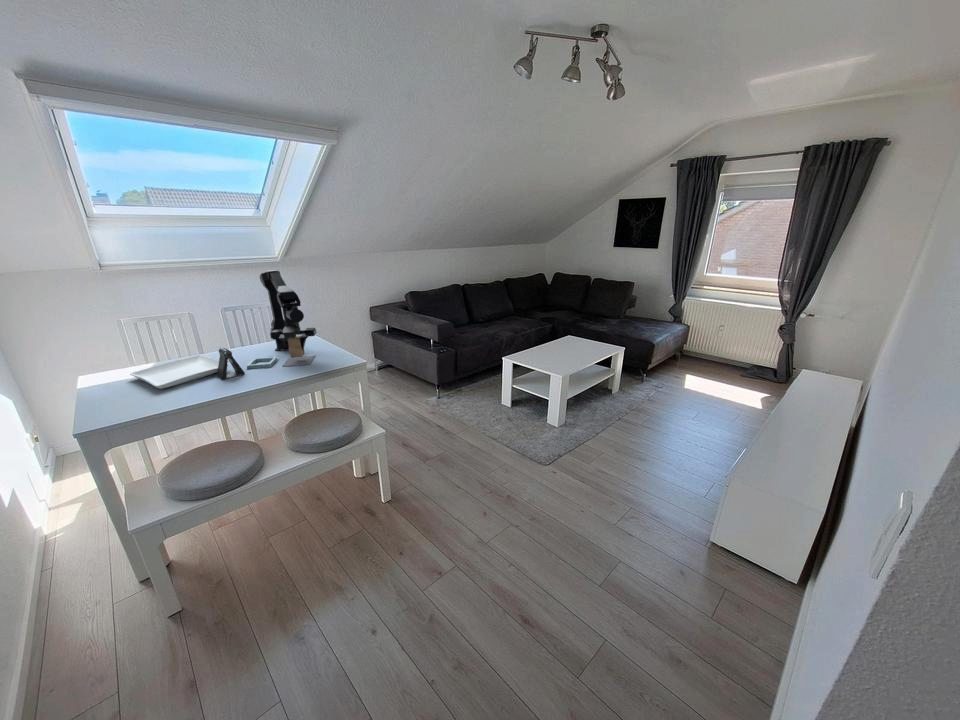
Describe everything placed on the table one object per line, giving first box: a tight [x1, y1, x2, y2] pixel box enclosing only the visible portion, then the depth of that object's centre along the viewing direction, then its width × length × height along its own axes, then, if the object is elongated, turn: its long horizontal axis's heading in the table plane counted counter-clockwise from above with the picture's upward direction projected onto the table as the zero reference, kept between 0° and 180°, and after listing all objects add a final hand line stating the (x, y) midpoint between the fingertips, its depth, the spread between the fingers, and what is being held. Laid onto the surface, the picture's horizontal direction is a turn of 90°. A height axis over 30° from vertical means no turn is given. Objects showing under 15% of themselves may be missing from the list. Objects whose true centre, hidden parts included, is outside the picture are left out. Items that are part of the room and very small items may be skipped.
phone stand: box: [216, 347, 246, 381], centre depth 159 cm, size 9×6×12 cm, turn 141°
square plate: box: [129, 354, 230, 390], centre depth 161 cm, size 27×27×4 cm
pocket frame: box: [246, 356, 278, 370], centre depth 173 cm, size 10×10×2 cm
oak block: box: [287, 335, 306, 358], centre depth 174 cm, size 5×5×9 cm
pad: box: [281, 355, 316, 368], centre depth 177 cm, size 12×12×1 cm
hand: (297, 350), depth 175 cm, fingers closed on oak block, 5 cm apart
